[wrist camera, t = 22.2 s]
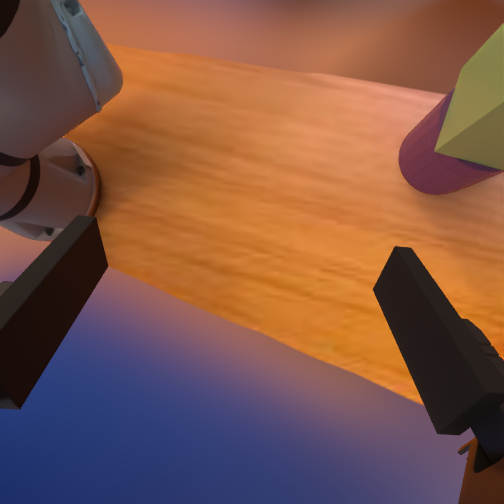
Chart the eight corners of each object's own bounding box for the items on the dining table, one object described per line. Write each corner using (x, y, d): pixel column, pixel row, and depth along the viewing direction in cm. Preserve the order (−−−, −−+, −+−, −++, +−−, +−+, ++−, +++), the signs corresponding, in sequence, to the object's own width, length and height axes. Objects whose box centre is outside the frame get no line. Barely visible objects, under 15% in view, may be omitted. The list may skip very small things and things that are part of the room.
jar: (385, 174, 38) (420, 144, 28) (420, 108, 38) (469, 55, 28) (454, 207, 37) (516, 188, 27) (491, 140, 37) (568, 96, 27)
